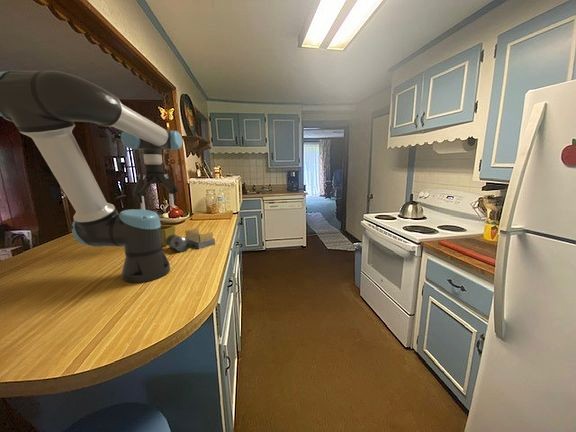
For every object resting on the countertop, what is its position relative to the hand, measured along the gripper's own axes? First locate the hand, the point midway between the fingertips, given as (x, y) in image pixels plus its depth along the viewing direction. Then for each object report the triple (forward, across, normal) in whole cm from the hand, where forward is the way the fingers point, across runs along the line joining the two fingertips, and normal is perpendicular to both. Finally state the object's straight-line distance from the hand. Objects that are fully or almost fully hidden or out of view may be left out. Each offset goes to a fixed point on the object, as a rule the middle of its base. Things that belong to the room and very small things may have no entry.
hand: (158, 208), depth 115 cm
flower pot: (+19, -1, 0) cm, 19 cm away
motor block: (+19, -8, +14) cm, 24 cm away
